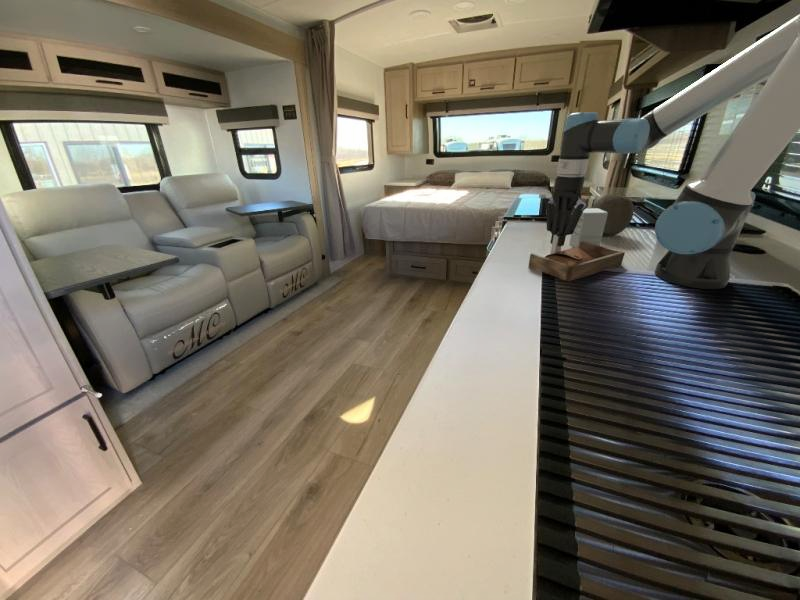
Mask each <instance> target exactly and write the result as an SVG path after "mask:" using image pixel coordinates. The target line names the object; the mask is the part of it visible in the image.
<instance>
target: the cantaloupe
mask: <svg viewBox="0 0 800 600" xmlns="http://www.w3.org/2000/svg"><path fill="white" fill-rule="evenodd" d="M591 208H598V209H601V210H603V211H606V212H607V213H608V215H607V219H606V223H605V227H604V231H603V235H602V237H613V236H616V235H618V234H620V233H622V232H623V231H625V230H626V229H627V228H628V226H629V224H630V223H631V221H632V219H633V217H634V210H635V209H634V208H635V207H634V204H633V201H632V200H631V199H630V197H628V196H625V195H620V194H613V193H612V194H606V195H603V196H602V197H599V199H597V200H596V201H595V203H594V204H593V206H592V207H591Z"/></svg>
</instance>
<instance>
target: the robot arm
mask: <svg viewBox="0 0 800 600" xmlns="http://www.w3.org/2000/svg"><path fill="white" fill-rule="evenodd" d="M764 80H767V81H766V82H765V83H764V86H763V87H762V88H761V90H760V91H759V92H758V94H757V96H755V98H754V99H753V101H752V103H751V104H750V105H749V107H748V108H747V110H746V111H745V113H744V114H743V116H742V117H741V119H740V120H739V121H738V122H737V124H736V125H735V127H734V129H733V130H732V132H731V133H730V135H728V137H727V138H726V140H725V142H724V143H723V145H722V146H721V148H720V149H719V151H718V152H717V153H716V155H715V157H714V158H712V161H711V162H710V164H709V165H708V167H707V168H706V170H705V171H704V173H702V175H701V177H699V178H697V179H695V180H692V181H689V182H687V184H685V186H684V188H683V189H682V191H681V192H680V194H679V195H678V197H677V198H676V199H675V201H674V202H673V203H672V205H669V206H668V207H667V208H665V209H664V211H663V212H662V213H661V214H660V215H659V216H658V217H657V219H656V222H655V226H654V235H655V237H656V239H657V241H658V243H659V244H660V245H661V246H662V247H663V248H664V249H666V250H667V251H666V252H665V254H664V256H663V257H662V258H660V260H659V262H658V263H657V264H656V266H655V270H654V274H655V275H656V276H657V277H659V279H661V280H663V281H665V282H666V281H667V282H669V283H673V284H675V285H678V286H679V285H680V286H683V287H689V288H693V289H700V290H719V289H723V288H726V287H727V285H728V283H729V281H730V279H731V254H732V252H733V250H734V247H735V245H736V244H737V240H738V238H739V236H740V234H741V231H742V230H743V227H744V224H745V222H746V221H747V218H748V215H749V213H750V212H751V209H752V208H753V207H754V204H755V199H756V193H755V192H753V191H752V189H754V187H755V185H756V184H757V183H758V182H759V181H760V180H761V178H762V177H763V176H764V174H765V173H766V172H767V171H768V170H769V168H770V167H771V165H772V164H773V163H774V162H775V161H776V160H777V159H778V157H779V156H780V155H781V154H782V152H783V151H784V150H785V148H786V147H787V146H788V144H789V143H790V142H791V141H792V140H793V138H794V137H795V136H796V135H797V134H798V132H799V131H800V13H799V14H797V15H796V16H794V17H793V18H790V20H788V21H787V22H784V24H782V25H780V26H779V27H777V28H776V29H774V30H773V31H771V32H770V33H768V34H767V35H765V36H763V37H762V38H760V39H759V40H758V41H756V42H754V43H753V44H752V45H750V46H748V47H747V48H746V49H744V50H742V51H740V52H739V53H738V54H736V55H735V56H734V57H732V58H730V59H728V60H727V61H726V62H724V63H723V64H721V65H719V66H718V67H717V68H715V69H713V70H712V71H711V72H709V73H707V74H705V75H704V76H703V77H701V78H700V79H698V80H697V81H695V82H694V83H691V85H689V86H688V87H685V89H683V90H682V91H680V92H678V93H677V94H675V95H674V96H672V97H671V98H669V99H668V100H666V101H665V102H663V103H662V104H660V105H659V106H657V107H655V108H654V109H653V110H651V111H649V112H648V113H647V114H644V115H643V116H641V117H640V118H637V117H636V118H635V117H631V118H630V117H628V118H620V119H607V120H601V119H599V114H598V113H597V111H596V112H595V111H592V112H590V111H589V112H588V111H586V112H573V113H570V114H568V116H567V117H566V120H565V124H564V128H563V131H562V140H561V146H560V151H559V152H560V153H559V156H558V157H559V158H558V163H557V168H556V174H557V175H556V176H555V177H554V178H555V180H554V184H553V185H554V186H553V189H554V190H553V192H552V195H551V196H549V197H547V198H544V200H543V201H544V204H545V211H546V212H545V213H546V218H545V219H546V231H547V232H550V233H551V238H550V244H551V248H550V254H555V253H557V252H560V251H562V247H564V245H565V243H566V238H567V236H571V234H573V232H574V230H575V228H576V226H577V223H578V221H579V219H580V217H581V215H582V212H583V211H584V210H585V209H586V208H587V207H589V206H588V205H589V204H588V203H587V202H584V201H583V200H582V193H581V192H582V190H583V187H584V184H585V179H586V178H585V176H584V175H586V173H587V171H588V165H589V162H590V161H589V160H590V155H591V153H595V154H596V153H601V154H603V153H604V154H620V155H624V154H625V155H626V154H636V153H638V152H645V151H647V150H650V149H652V148H654V147H655V146H657V144H659V143H660V142H661V140H663V139H664V138H666V137H667V136H670V135H671V134H672V133H674V132H676V131H678V130H679V129H682V128H683V127H685V126H686V125H688V124H690V123H692V122H693V121H695V120H697V119H699V118H700V117H702V116H704V115H706V114H708V113H710V112H711V111H712V110H713V111H714V109H716V108H718V107H719V106H722V105H723V104H725V103H727V102H728V101H730V100H731V99H734V98H735V97H737V96H739V95H740V94H742V93H744V92H746V91H748V90H750V89H751V88H753V87H754V86H756V85H758V84H760V83H762V82H764ZM574 208H575V209H574Z"/></svg>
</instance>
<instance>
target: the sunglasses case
mask: <svg viewBox="0 0 800 600" xmlns="http://www.w3.org/2000/svg"><path fill="white" fill-rule="evenodd" d="M544 257H546V258H549V259H552V260H555V261H558V262H561V263H564V264H567V265H570V266H572V265H575V264H579V263H582V262H586V261H589V260H593V259H595V258H592V257H591V256H590V255H588V254H587V253H585V252H584V251H583V250H581V249H580V248H579V247H578V246H576V247H572V248H567V249H563V250H561V251H560V252H557V253H555V254H547V255H546V256H544Z"/></svg>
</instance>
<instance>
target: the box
mask: <svg viewBox="0 0 800 600" xmlns="http://www.w3.org/2000/svg"><path fill="white" fill-rule="evenodd" d="M579 248H580V249H581V250H583V251H584V252H585V253H587V254H588V255H590V256H591V257H592V258H594V259H593V260H589V261H586V262H582V263H579V264H575V265H572V266H570V265H567V264H564V263H561V262H558V261H555V260H552V259H549V258H546V257H545V256H543V255H539V254H537V253H534V252H533V253H530V255H529V260H528V261H529V262H528V266H530V267H529V268H531V267H532V269H533V268H535V269H534V270H536V269H538V270H537V271H539V270H540V271H539V272H541V271H542V272H541V273H544V274H548V275H549V274H550V276H552V277H555V278H557V277H558V279H560V280H563V281H566V282H569V283H570V282H572V280H573V281H575V279H576V280H577V279H578V278H579V279H582V278H585V277H588V276H591V275H594V273H595V274H598V273H600V272H603V271H607V270H610V269H614V268H616V267H619V266H622V265H623V264H622V263H623V260H624V257H625V253H626V252H625V251H622V250H618V249H614V248H611V247H606V246H603V245H600V246H599V245H595V244H591V243H587V242H584V241H581V242H580V246H579ZM587 275H588V276H587ZM584 276H585V277H584ZM581 277H582V278H581ZM579 279H578V280H579Z"/></svg>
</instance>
